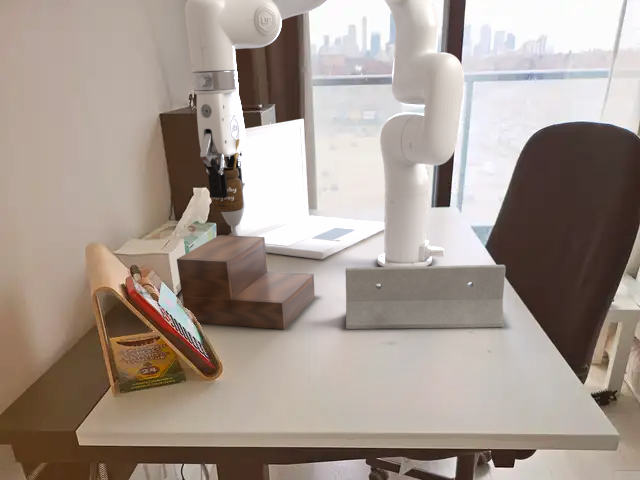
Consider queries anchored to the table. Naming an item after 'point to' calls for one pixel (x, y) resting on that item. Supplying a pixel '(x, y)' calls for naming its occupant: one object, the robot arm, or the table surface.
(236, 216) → the chalice
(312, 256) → the laptop
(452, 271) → the barrier
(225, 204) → the utensil holder
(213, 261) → the step shelf
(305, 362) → the table surface
